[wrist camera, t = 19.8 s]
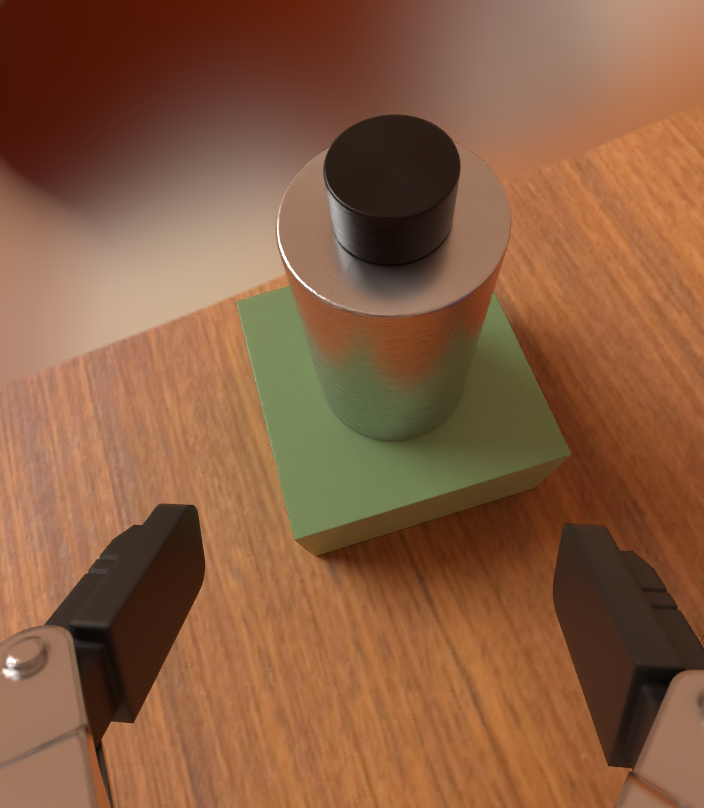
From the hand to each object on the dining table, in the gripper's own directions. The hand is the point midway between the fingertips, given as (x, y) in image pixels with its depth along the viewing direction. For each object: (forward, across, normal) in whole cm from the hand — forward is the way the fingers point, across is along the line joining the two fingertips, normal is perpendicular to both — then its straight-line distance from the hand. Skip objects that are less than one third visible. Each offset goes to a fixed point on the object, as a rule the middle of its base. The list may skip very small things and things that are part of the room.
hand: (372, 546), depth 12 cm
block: (+13, 0, +3) cm, 13 cm away
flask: (+9, 0, -1) cm, 9 cm away
